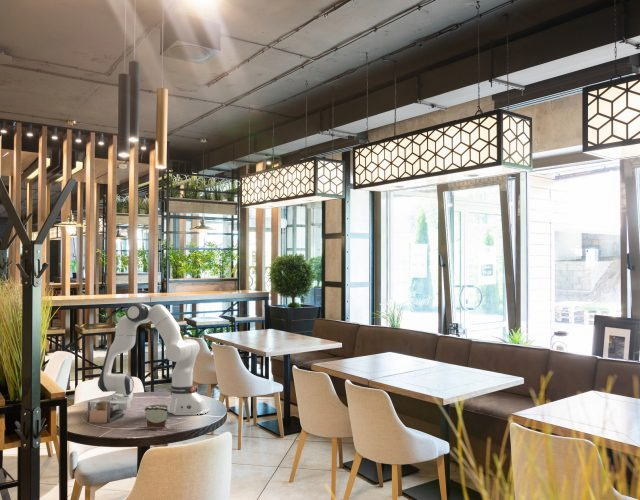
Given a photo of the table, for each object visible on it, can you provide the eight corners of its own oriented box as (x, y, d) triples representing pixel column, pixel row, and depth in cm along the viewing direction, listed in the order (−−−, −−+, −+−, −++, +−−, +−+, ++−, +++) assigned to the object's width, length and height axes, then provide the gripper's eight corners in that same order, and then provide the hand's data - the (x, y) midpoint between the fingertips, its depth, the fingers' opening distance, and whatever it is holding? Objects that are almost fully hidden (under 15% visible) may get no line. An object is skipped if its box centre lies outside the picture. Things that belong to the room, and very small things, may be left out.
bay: (123, 414, 298) (124, 395, 298) (109, 423, 280) (109, 403, 281) (102, 413, 299) (103, 394, 299) (86, 422, 281) (87, 402, 282)
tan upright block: (109, 418, 289) (110, 401, 289) (105, 421, 284) (105, 403, 284) (100, 418, 289) (101, 401, 289) (95, 420, 284) (96, 403, 284)
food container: (172, 424, 279) (172, 404, 280) (167, 428, 273) (168, 407, 274) (148, 423, 281) (149, 403, 281) (143, 426, 274) (144, 406, 275)
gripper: (96, 395, 301) (84, 401, 288) (133, 396, 300) (122, 402, 286) (96, 407, 301) (83, 413, 287) (133, 408, 300) (122, 414, 286)
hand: (103, 408), depth 287 cm, fingers open, 8 cm apart
